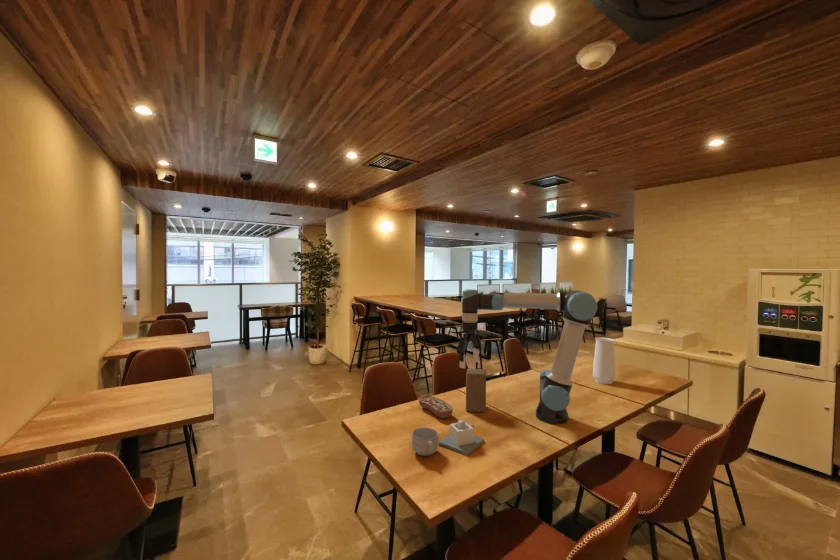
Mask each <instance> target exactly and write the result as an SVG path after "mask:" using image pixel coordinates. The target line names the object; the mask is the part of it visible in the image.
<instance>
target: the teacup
mask: <svg viewBox="0 0 840 560" xmlns="http://www.w3.org/2000/svg"><path fill="white" fill-rule="evenodd" d="M439 436H440V433H439V431H438V430H436V429H434V428H432V427H431V428H430V427H424V426H423V427H417V428H415V429H413V430H411V446H412V447H411V448H412V449H413V451H414V452H416V454H417V455H419V456H423V457H427V456H431V455H433V454H434V453H436V452H437V450H438V447H439V445H438V442H439Z"/></svg>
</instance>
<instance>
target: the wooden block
mask: <svg viewBox="0 0 840 560" xmlns="http://www.w3.org/2000/svg"><path fill="white" fill-rule="evenodd" d="M486 403H487V370H486V369H483V368H467V369H466V374H465V410H466V412H475V413H486V410H487V409H486V408H487V404H486Z"/></svg>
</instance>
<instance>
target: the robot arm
mask: <svg viewBox="0 0 840 560" xmlns="http://www.w3.org/2000/svg"><path fill="white" fill-rule="evenodd" d="M461 296H462V298H461V316H462V317H461V320H462V322H461V329H462V330H463V331H464V332H460V334H459V335H460V337H459V341H458V345H457V349H456V354H457V355H459V369H460V368H461V369H466V354H465V353H466V351H467V347H468V345H469V343H471V344H472V346H473V347H474V348H472V349H473V351H472V352H473V353H472V354H473V355H472V357H473V359H472V361H473V362H475V363H479V362H480V361H479V359H480V351H479V350H481V349H482V343H481V339H480V334H479V329H478V328H479V327H478V323H479V322H478V321H479V318H478V317H479V313H478V310H484V311H485V310H486V311H487V310H488V311H494V312H495V311H503V309H504V308H509V309H510V308H515V309H534V310H535V309H538V310H539V309H540V310H546V309H547V310H557V312H562V313H563V314H562V316H561V318H562V319H563V321H564V323H563V328H562V330H561V334H560V338H559V342H558V345H557V348H556V352H555V355H554V358H553V363H552V366H551V369H544V370H541V371H540V372H539V401H538V404H537V406H536V409H535V417H536V418H537V420H540V421H542V422H544V423H548V424H552V425H554V424H555V425H561V424H562V425H563V424H566V423H567V422H569V414H568V410H567V407H568V406H569V405H570V401H571V396H570V394H571V391H572V387H573V381H572V380H571V377H572V374H573V371H574V367H575V363H576V360H577V357H578V354H579V353H578V352H579V350H580V346H581V343H582V339H583V336H584V333H585V330H586V328H588V327H590V326H591V323H592V320H593V318H594V317H595V315H596V313H597V310H598V302H597V300H596V298H595V297H594V296H593V295H592V294H590V293H588V292H586V291H582V290H571V291H558V292H556V293H539V292H538V293H537V292H533V293H532V292H496V291H491V292H489V293H479V291H478V289H471V288H470V289H464V290H462V294H461Z"/></svg>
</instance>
